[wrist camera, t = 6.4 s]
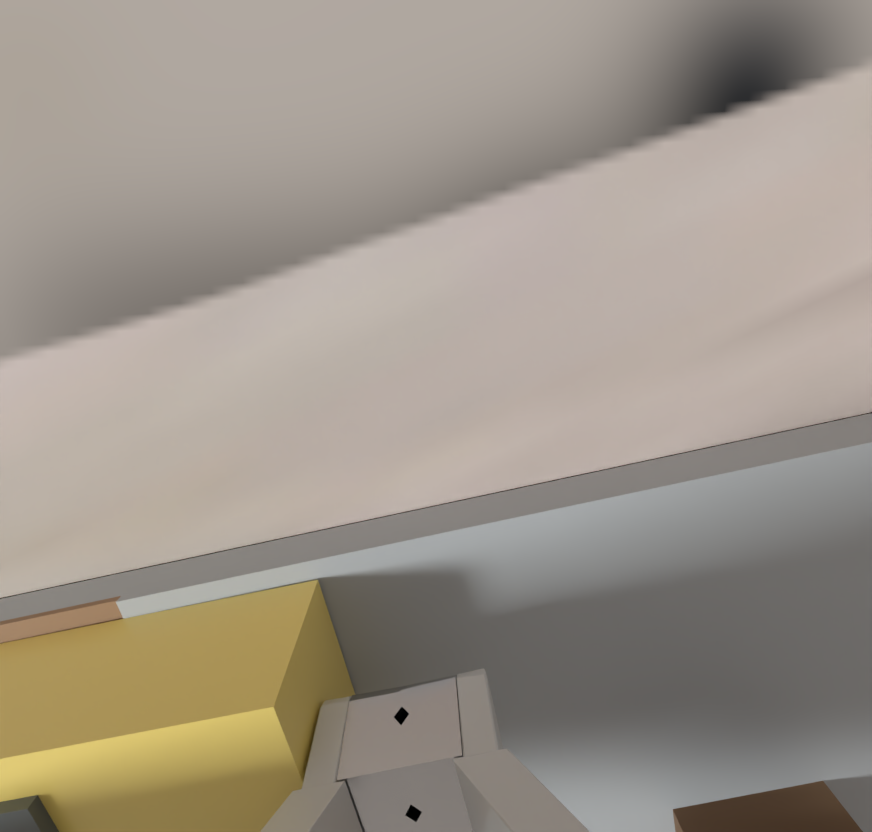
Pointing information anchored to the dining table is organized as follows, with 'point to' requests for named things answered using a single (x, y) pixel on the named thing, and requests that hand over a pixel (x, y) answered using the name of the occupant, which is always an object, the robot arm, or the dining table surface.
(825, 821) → the wooden block with knob
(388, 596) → the board
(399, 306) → the dining table surface
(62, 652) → the block
